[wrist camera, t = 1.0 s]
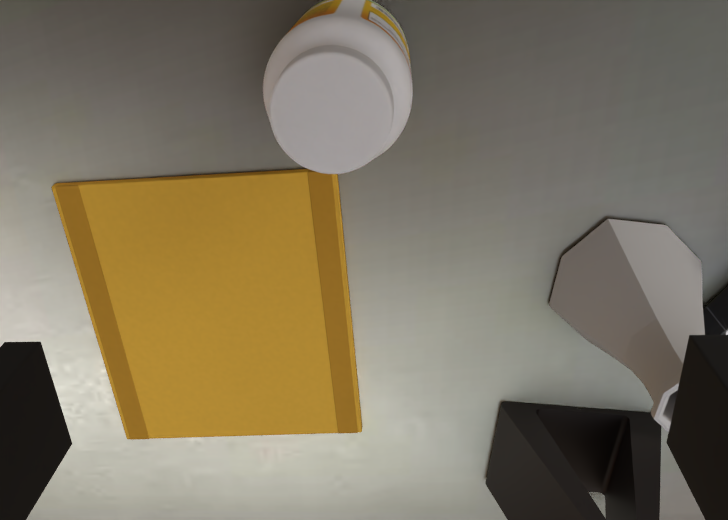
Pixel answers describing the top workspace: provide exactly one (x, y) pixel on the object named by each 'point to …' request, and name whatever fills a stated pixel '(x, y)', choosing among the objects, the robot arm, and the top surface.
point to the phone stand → (575, 463)
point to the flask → (635, 302)
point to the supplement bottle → (339, 86)
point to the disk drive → (717, 315)
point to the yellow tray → (218, 301)
